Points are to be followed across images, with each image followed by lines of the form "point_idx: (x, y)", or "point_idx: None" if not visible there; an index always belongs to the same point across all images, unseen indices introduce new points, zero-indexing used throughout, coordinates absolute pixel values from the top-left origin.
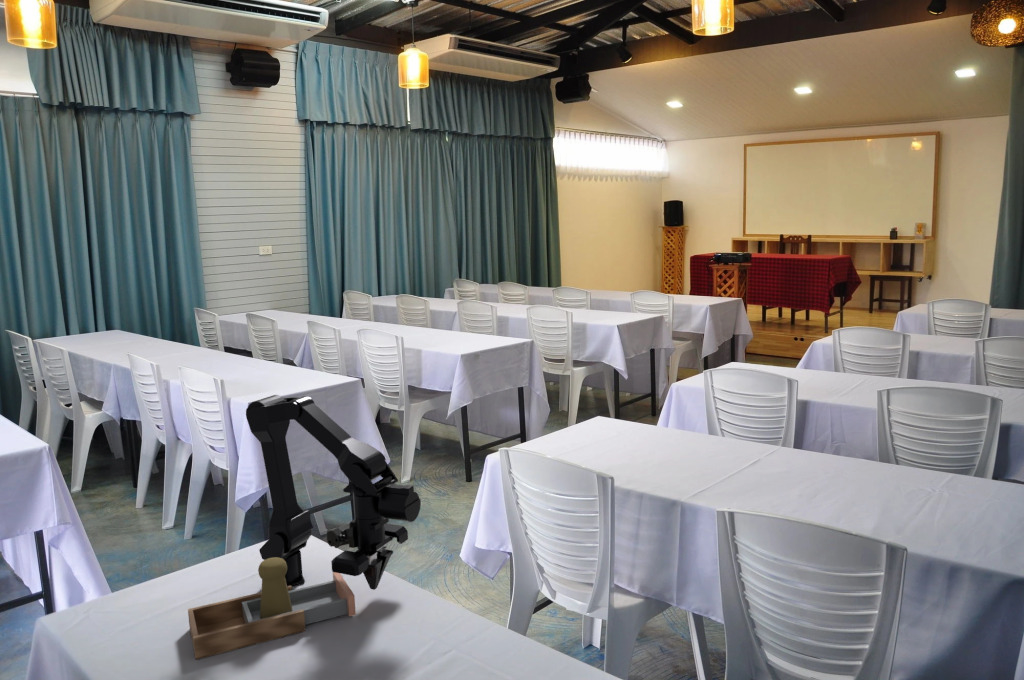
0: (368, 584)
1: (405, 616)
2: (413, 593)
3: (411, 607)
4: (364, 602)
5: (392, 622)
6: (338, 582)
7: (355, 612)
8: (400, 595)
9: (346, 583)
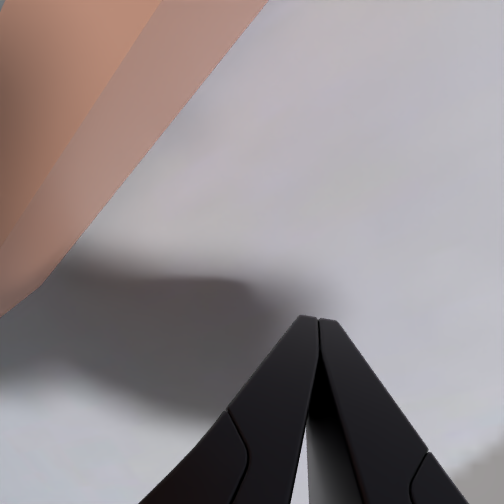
0: (284, 334)
1: None
2: None
3: None
4: (245, 241)
5: (116, 432)
6: (6, 39)
7: (28, 294)
8: None
9: (12, 219)
